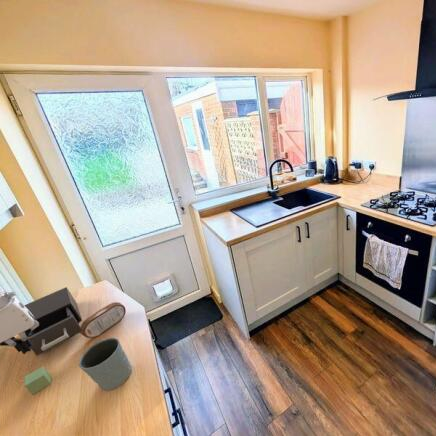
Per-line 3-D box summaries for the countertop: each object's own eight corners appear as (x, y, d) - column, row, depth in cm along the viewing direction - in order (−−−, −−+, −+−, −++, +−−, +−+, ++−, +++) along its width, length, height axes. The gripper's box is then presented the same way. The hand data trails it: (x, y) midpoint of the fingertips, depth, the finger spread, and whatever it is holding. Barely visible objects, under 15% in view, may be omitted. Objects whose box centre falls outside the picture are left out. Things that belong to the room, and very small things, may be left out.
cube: (32, 395, 75) (24, 386, 73) (32, 385, 78) (24, 376, 76) (51, 383, 78) (43, 375, 76) (50, 374, 81) (43, 366, 79)
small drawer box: (82, 320, 102) (70, 302, 98) (35, 344, 93) (20, 326, 89) (76, 303, 113) (66, 286, 109) (34, 323, 104) (21, 306, 99)
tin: (126, 312, 104) (118, 297, 100) (130, 315, 102) (122, 299, 98) (85, 340, 92) (74, 324, 89) (89, 344, 91) (78, 327, 87)
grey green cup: (139, 371, 79) (125, 345, 73) (105, 401, 71) (86, 375, 66) (125, 356, 84) (110, 332, 79) (91, 383, 77) (72, 358, 72)
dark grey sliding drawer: (85, 339, 92) (75, 324, 88) (37, 366, 83) (24, 351, 80) (77, 313, 105) (68, 299, 102) (35, 334, 97) (24, 319, 93)
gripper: (26, 285, 75) (57, 327, 83) (-50, 316, 66) (-7, 360, 73) (26, 295, 70) (59, 339, 78) (-55, 330, 61) (-9, 376, 69)
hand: (27, 349), depth 76 cm, fingers closed
